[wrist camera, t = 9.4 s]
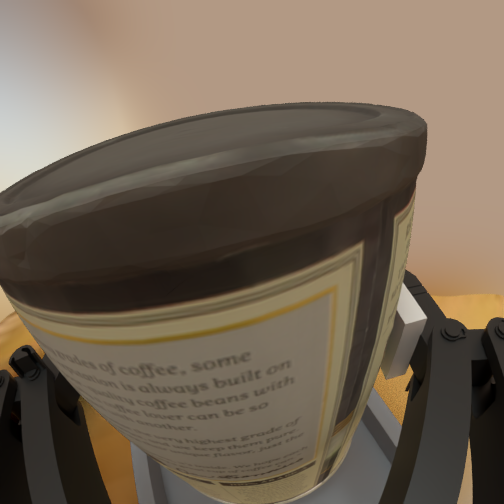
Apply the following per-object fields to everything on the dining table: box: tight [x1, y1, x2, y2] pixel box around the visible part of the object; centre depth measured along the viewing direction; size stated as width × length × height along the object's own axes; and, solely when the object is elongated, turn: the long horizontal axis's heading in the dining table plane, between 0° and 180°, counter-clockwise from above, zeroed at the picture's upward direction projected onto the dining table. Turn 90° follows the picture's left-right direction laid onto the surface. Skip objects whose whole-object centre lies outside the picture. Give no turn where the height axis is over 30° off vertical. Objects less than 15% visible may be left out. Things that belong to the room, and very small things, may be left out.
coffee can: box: [0, 102, 427, 504], centre depth 10 cm, size 10×10×14 cm
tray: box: [130, 388, 402, 504], centre depth 17 cm, size 18×18×3 cm
